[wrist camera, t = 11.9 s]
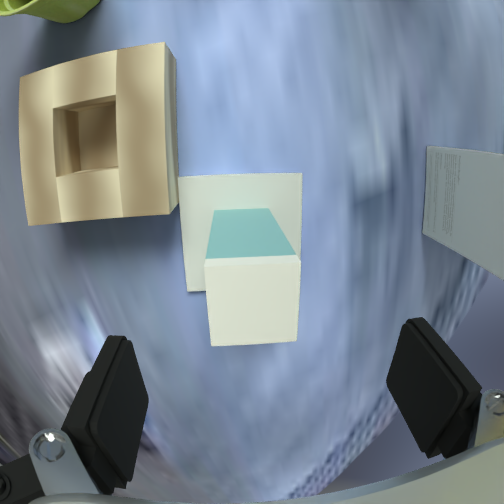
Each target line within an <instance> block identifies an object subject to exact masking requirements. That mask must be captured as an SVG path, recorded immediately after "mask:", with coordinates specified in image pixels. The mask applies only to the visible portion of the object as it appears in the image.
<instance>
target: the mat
mask: <svg viewBox="0 0 504 504" xmlns="http://www.w3.org/2000/svg"><path fill="white" fill-rule="evenodd" d="M178 191H179V206H180V219H181V231H182V243H183V254H184V264H185V274H186V283H187V291H206V285H205V273H204V264H205V258H206V252H207V247H208V241H209V236H210V230H211V225H212V219H213V214H214V210H230V209H258V208H269V210H270V211H271V213H272V215H273V216H274V218H275V220H276V221H277V223H278V225H279V226H280V228H281V230H282V231H283V233H284V235H285V236H286V238H287V240H288V241H289V243H290V245H291V246H292V248H293V250H294V251H295V253H296V255H297V256H298V258H299V260H300V255H301V223H302V173H250V174H221V175H200V176H184V177H178Z"/></svg>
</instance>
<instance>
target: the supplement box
mask: <svg viewBox="0 0 504 504" xmlns="http://www.w3.org/2000/svg"><path fill="white" fill-rule="evenodd" d="M422 233H423V234H424V235H426V236H428V237H430V238H432V239H433V240H435V241H437V242H439V243H441V244H443V245H444V246H446V247H448V248H450V249H451V250H453V251H455V252H457V253H458V254H460V255H462V256H464V257H465V258H467V259H469V260H470V261H472V262H474V263H476V264H477V265H479V266H481V267H482V268H484V269H486V270H487V271H489V272H490V273H492V274H494V275H495V276H497V277H498V278H500V279H502V280H503V281H504V154H499V153H493V152H485V151H478V150H469V149H459V148H449V147H438V146H427V149H426V189H425V206H424V219H423V230H422Z"/></svg>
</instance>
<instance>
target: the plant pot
mask: <svg viewBox="0 0 504 504" xmlns="http://www.w3.org/2000/svg"><path fill="white" fill-rule="evenodd" d="M99 1H100V0H0V16H11V15H15V14H29V15H33V16H37V17H41V18H44V19H48V20H51V21H55V22H58V23H69V22H73V21H76V20H78V19H80V18H82V17H83V16H84V15H85V14H86V13H87V12H88V11H89V10H90V9H92V8H93V7H94V6H96V5H97V4H98V2H99Z"/></svg>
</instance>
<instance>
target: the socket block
mask: <svg viewBox="0 0 504 504" xmlns="http://www.w3.org/2000/svg"><path fill="white" fill-rule="evenodd" d="M19 142H20V159H21V172H22V182H23V190H24V198H25V206H26V212H27V218H28V224H29V226H32V225H42V224H52V223H62V222H72V221H83V220H95V219H107V218H120V217H134V216H148V215H164V214H170V213H171V212H172V211H173V209H174V208H175V207H176V206H177V204H178V203H179V191H178V177H179V170H178V149H177V118H176V59H175V57H174V56H173V54H172V53H171V51H170V49H169V48H168V46H167V45H166V43H165V42H161V43H154V44H147V45H140V46H134V47H129V48H123V49H118V50H113V51H108V52H104V53H99V54H95V55H91V56H87V57H83V58H79V59H75V60H72V61H68V62H65V63H61V64H58V65H55V66H52V67H48V68H45V69H42V70H39V71H36V72H34V73H31V74H28V75H25V76H23V77H20V89H19Z"/></svg>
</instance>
